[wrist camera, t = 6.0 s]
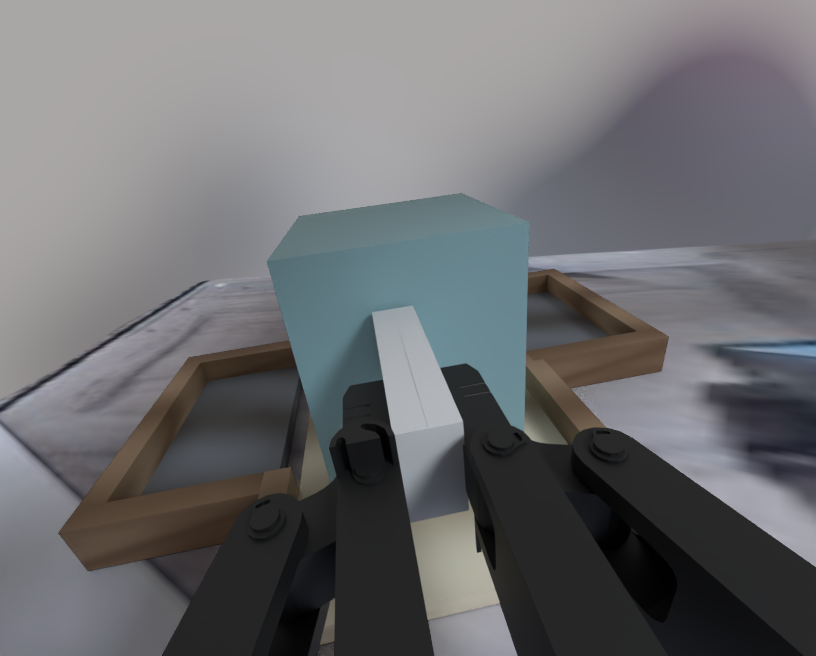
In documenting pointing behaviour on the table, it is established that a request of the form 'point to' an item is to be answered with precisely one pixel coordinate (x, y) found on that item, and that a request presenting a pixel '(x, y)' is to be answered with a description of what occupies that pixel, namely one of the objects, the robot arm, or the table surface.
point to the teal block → (404, 296)
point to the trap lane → (272, 436)
